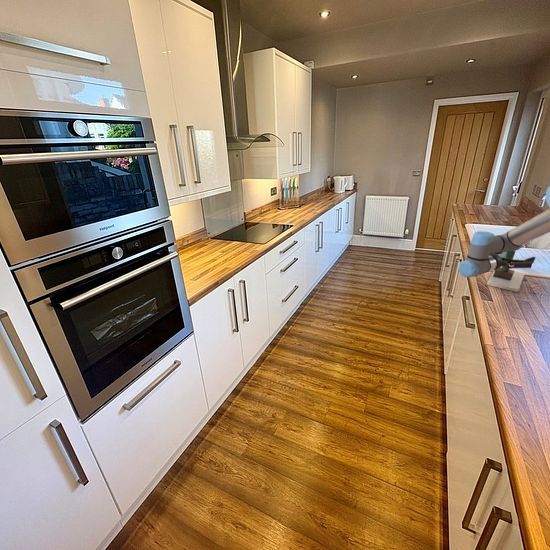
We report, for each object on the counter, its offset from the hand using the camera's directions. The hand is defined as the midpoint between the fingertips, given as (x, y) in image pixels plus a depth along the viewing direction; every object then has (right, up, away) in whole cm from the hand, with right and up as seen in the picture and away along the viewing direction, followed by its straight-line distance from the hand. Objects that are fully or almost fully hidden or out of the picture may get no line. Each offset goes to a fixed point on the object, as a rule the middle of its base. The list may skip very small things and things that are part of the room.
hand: (517, 254), depth 139 cm
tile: (-3, -12, +3) cm, 13 cm away
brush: (-5, -11, +3) cm, 12 cm away
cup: (+9, -3, +22) cm, 24 cm away
